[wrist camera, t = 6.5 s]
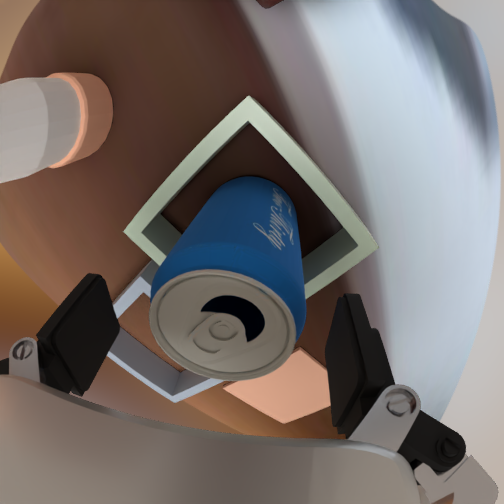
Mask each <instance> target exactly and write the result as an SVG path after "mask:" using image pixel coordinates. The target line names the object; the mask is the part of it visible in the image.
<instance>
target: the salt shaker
mask: <svg viewBox="0 0 504 504" xmlns="http://www.w3.org/2000/svg"><path fill="white" fill-rule="evenodd" d="M112 118H113V103H112V97H111V94H110V92H109V89H108V87H107V86H106V84H105V83H104V82H103V81H102V80H101V79H100V78H99V77H97V76H94V75H92V74H88V73H53V74H51V75H49V76H47V77H45V78H21V79H16V80H12V81H9V82H6V83H3V84H0V183H3V182H7V181H11V180H15V179H20V178H23V177H27V176H29V175H31V174H33V173H35V172H38V171H40V170H42V169H44V168H46V167H50V168H57V167H61V166H64V165H67V164H69V163H72V162H75V161H77V160H80V159H82V158H85V157H88V156H90V155H91V154H92V153H94V152H95V151H97V150H98V149H99V148H100V146H101V145H102V144H103V143H104V141H105V140H106V138H107V135H108V133H109V131H110V128H111V124H112Z"/></svg>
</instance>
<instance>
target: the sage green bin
mask: <svg viewBox="0 0 504 504" xmlns="http://www.w3.org/2000/svg"><path fill="white" fill-rule="evenodd" d="M249 123H251V124H252V125H253V126H254V127H255V128H256V129H257V130H258V131H259V132H260V133H261V134H262V135H263V136H264V137H265V138H266V139H267V140H268V141H269V142H270V143H271V144H272V146H273V147H274V148H275V149H276V150H277V151H278V152H279V153H280V154H281V155H282V156H283V157H284V158H285V159H286V161H287V162H288V163H289V164H290V165H291V166H292V167H293V168H294V169H295V170H296V171H297V173H298V174H299V175H300V176H301V177H302V178H303V179H304V180H305V182H306V183H307V184H308V185H309V186H310V187H311V188H312V190H313V191H314V192H315V193H316V194H317V195H318V197H319V198H320V199H321V200H322V201H323V202H324V204H325V205H326V206H327V207H328V208H329V210H330V211H331V212H332V213H333V214H334V216H335V217H336V218H337V219H338V220H339V222H340V223H341V224H342V225H343V227H344V228H343V229H341V230H340V231H339V232H337V233H336V234H335V235H333V236H332V237H331V238H329V239H328V240H327V241H325V242H324V243H323V244H321V245H320V246H319V247H317V248H316V249H315V250H313V251H312V252H311V253H309V254H308V255H307V256H305V257H304V258H303V259H302V267H303V277H304V288H305V299H307V298H308V297H310V296H311V295H313V294H314V293H316V292H317V291H319V290H320V289H322V288H323V287H325V286H326V285H327V284H329V283H330V282H332V281H333V280H335V279H336V278H338V277H339V276H340V275H342V274H343V273H345V272H346V271H348V270H349V269H350V268H352V267H353V266H355V265H356V264H357V263H359V262H360V261H361V260H363V259H364V258H366V257H367V256H368V255H370V254H371V253H372V252H374V251H375V250H376V249H378V248H379V247H378V245H377V243H376V242H375V240H374V238H373V237H372V235H371V234H370V232H369V230H368V229H367V227H366V226H365V224H364V223H363V222H362V220H361V219H360V218H359V216H358V215H357V214H356V213H355V211H354V210H353V209H352V207H351V206H350V205H349V204H348V202H347V201H346V200H345V198H344V197H343V196H342V195H341V193H340V192H339V191H338V190H337V188H336V187H335V186H334V185H333V184H332V182H331V181H330V180H329V179H328V178H327V176H326V175H325V174H324V173H323V172H322V170H321V169H320V168H319V167H318V166H317V165H316V163H315V162H314V161H313V160H312V159H311V158H310V157H309V155H308V154H307V153H306V152H305V151H304V150H303V149H302V148H301V146H300V145H299V144H298V143H297V142H296V141H295V140H294V139H293V138H292V137H291V136H290V134H289V133H288V132H287V131H286V130H285V129H284V128H283V127H282V126H281V125H280V124H279V123H278V122H277V121H276V120H275V119H274V118H273V117H272V116H271V115H270V114H269V112H268V111H267V110H266V109H265V108H264V107H263V106H262V105H261V104H260V103H259V102H258V101H256V100H255V99H254V98H252V97H250V96H248V97H247V98H246V99H244V100H243V101H242V102H241V103H240V104H239V105H238V106H237V107H236V108H235V109H234V110H233V111H231V112H230V113H229V114H228V115H227V116H226V117H225V118H224V119H223V120H222V121H221V122H220V123H219V124H218V125H217V126H216V127H215V128H214V129H213V130H212V131H211V132H210V133H209V134H208V135H207V136H206V137H205V138H204V139H203V140H202V141H201V142H200V143H199V144H198V145H197V146H196V147H195V148H194V149H193V150H192V152H191V153H190V154H189V155H188V156H187V157H186V158H185V159H184V160H183V161H182V162H181V163H180V164H179V166H178V167H177V168H176V169H175V170H174V171H173V172H172V173H171V174H170V176H169V177H168V178H167V179H166V180H165V181H164V182H163V184H162V185H161V186H160V187H159V188H158V189H157V191H156V192H155V193H154V194H153V195H152V197H151V198H150V199H149V200H148V201H147V203H146V204H145V205H144V206H143V207H142V209H141V210H140V211H139V212H138V214H137V215H136V216H135V217H134V219H133V220H132V221H131V222H130V224H129V225H128V226H127V228H126V229H125V230H124V231H123V232H124V233H125V234H126V235H127V236H128V237H129V238H130V239H132V240H133V241H134V242H135V243H136V244H137V245H138V246H139V247H140V248H141V249H142V250H143V251H144V252H145V253H146V254H147V255H149V256H150V257H151V258H152V259H153V260H154V261H155V262H156V263H157V264H158V265H159V266H160V265H161V264H162V262H163V261H164V260H165V258H166V257H167V255H168V254H169V253H170V251H171V250H172V248H173V247H174V246H175V244H176V243H177V241H178V240H179V239H180V237H181V236H182V234H181V233H180V232H179V231H178V230H177V229H175V228H174V227H173V226H172V225H171V224H170V223H169V222H168V221H167V220H166V219H165V218H164V217H163V216H162V215H161V214H160V213H161V212H162V211H163V210H164V209H165V208H166V207H167V205H168V204H169V203H170V202H171V201H172V200H173V199H174V198H175V197H176V196H177V195H178V193H179V192H180V191H181V190H182V189H183V188H184V187H185V186H186V185H187V184H188V183H189V182H190V181H191V180H192V179H193V178H194V177H195V175H196V174H197V173H198V172H199V171H200V170H201V169H202V168H203V167H204V166H205V165H206V164H207V163H208V162H209V161H210V160H211V159H212V158H213V157H214V156H215V155H216V154H217V153H218V152H219V151H220V150H221V149H222V148H223V147H224V146H225V145H226V144H228V143H229V142H230V141H231V140H232V139H233V138H234V137H235V136H236V135H237V134H238V133H239V132H240V131H241V130H242V129H243V128H244V127H246V126H247V125H248V124H249Z"/></svg>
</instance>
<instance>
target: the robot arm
mask: <svg viewBox="0 0 504 504" xmlns="http://www.w3.org/2000/svg"><path fill="white" fill-rule="evenodd" d="M119 332H120V325H119V322H118V319H117V316H116V313H115V310H114V307H113V304H112V301H111V298H110V295H109V291H108V288H107V284H106V281H105V279H103V278H102V276H101V275H99V274H91V273H89V274H87V275H86V276H85V277H84V278H83V279H82V280H81V281H80V283H79V284H78V285H77V286H76V287H75V288H74V289H73V291H72V292H71V293H70V294H69V295H68V296H67V298H66V299H65V300H64V301H63V302H62V303H61V305H60V306H59V307H58V308H57V309H56V311H55V312H54V313H53V314H52V316H51V317H50V318H49V319H48V321H47V322H46V323H45V324H44V326H43V327H42V328H41V329H40V331H39V332H38V333H37V335H36V336H37V338H38V341H37V342H36V341H35V340H34V339H32V338H28V337H27V338H22V339H20V340H18V341H17V342H16V343H15V344H14V345H13V346H12V348H11V350H10V354H9V358H6V359H4V360H1V361H0V504H494V503H495V501H496V500H497V497H498V487H497V485H496V483H495V482H494V481H493V480H492V478H491V477H490V476H489V475H488V474H487V473H486V472H485V470H484V469H483V468H482V467H481V466H480V465H479V463H478V462H477V461H476V460H475V459H474V458H473V456H472V455H470V456H469V457H468V456H467V455H466V454H465V452H466V445H465V441H464V439H463V438H462V436H461V435H459V434H458V433H457V432H455V431H454V430H452V429H450V428H448V427H447V426H445V425H444V424H442V423H440V422H439V421H437V420H436V419H434V418H432V417H431V416H429V415H427V414H426V413H424V412H423V411H421V410H420V407H421V404H420V399H419V396H418V395H417V393H416V392H415V391H414V390H413V389H411V388H410V387H407V386H405V385H399V384H397V385H395V382H394V378H393V375H392V372H391V368H390V365H389V362H388V358H387V355H386V352H385V349H384V346H383V343H382V340H381V337H380V334H379V331H378V330H377V329H376V328H371V327H370V324H369V321H368V317H367V314H366V311H365V308H364V305H363V302H362V300H361V297H360V295H359V294H344V295H343V297H339V298H338V301H337V305H336V309H335V313H334V317H333V321H332V325H331V329H330V332H329V336H328V340H327V343H326V347H325V358H326V366H327V375H328V384H329V393H330V403H331V414H332V424H333V427H337V429H338V434H345V435H346V439H347V440H341V439H314V438H280V437H265V436H251V435H239V434H231V433H222V432H215V431H208V430H202V429H195V428H189V427H184V426H179V425H174V424H169V423H164V422H159V421H155V420H151V419H147V418H143V417H139V416H135V415H131V414H128V413H124V412H121V411H117V410H114V409H110V408H107V407H104V406H101V405H98V404H95V403H92V402H89V401H86V400H83V399H81V398H78V397H75V396H72V395H70V394H69V393H70V391H71V392H72V393H73V394H76V395H79V396H83V394H84V392H85V391H87V390H88V389H89V387H90V385H91V383H92V382H93V380H94V378H95V376H96V374H97V372H98V370H99V368H100V367H101V365H102V363H103V361H104V359H105V357H106V356H107V354H108V352H109V350H110V348H111V347H112V345H113V343H114V341H115V340H116V338H117V336H118V334H119Z"/></svg>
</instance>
